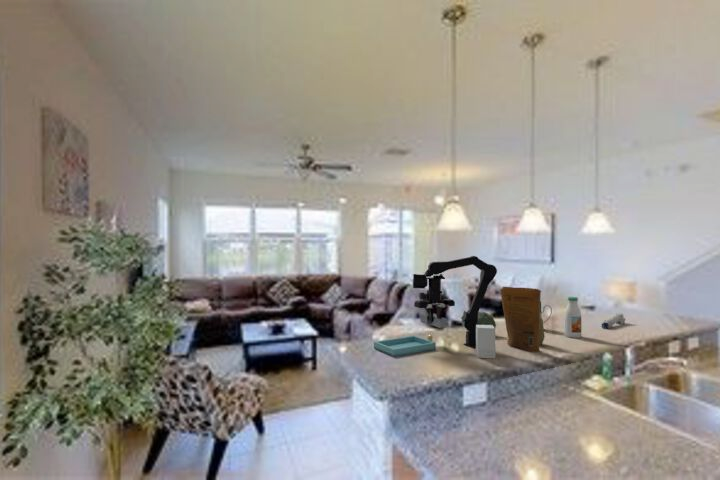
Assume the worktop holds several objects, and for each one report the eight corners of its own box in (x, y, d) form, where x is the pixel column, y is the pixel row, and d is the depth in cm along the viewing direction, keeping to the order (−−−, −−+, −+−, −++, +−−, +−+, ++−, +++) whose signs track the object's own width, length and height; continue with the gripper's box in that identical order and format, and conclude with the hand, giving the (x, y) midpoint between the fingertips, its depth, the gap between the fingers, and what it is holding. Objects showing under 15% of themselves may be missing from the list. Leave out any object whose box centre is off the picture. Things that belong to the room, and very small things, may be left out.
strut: (448, 327, 191) (448, 318, 191) (437, 328, 189) (437, 319, 189) (431, 321, 206) (431, 312, 206) (421, 321, 204) (421, 313, 204)
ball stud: (433, 342, 201) (433, 335, 201) (429, 343, 200) (429, 336, 200) (430, 341, 204) (430, 334, 204) (426, 342, 202) (426, 335, 202)
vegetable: (502, 328, 223) (497, 320, 211) (484, 345, 223) (479, 338, 211) (485, 312, 230) (480, 304, 218) (468, 328, 230) (462, 321, 218)
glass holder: (529, 326, 238) (529, 299, 238) (555, 330, 228) (555, 302, 228) (522, 328, 232) (522, 301, 232) (548, 332, 222) (548, 304, 222)
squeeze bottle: (544, 342, 200) (544, 305, 200) (544, 346, 193) (544, 307, 193) (526, 341, 204) (526, 304, 204) (525, 345, 196) (525, 306, 196)
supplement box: (495, 358, 175) (495, 328, 175) (477, 357, 176) (477, 327, 176) (493, 353, 182) (493, 324, 182) (475, 353, 184) (475, 324, 184)
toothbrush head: (599, 321, 232) (616, 310, 248) (600, 333, 232) (617, 321, 248) (610, 322, 228) (626, 311, 244) (610, 334, 228) (627, 322, 244)
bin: (435, 349, 190) (435, 342, 190) (393, 356, 179) (393, 349, 179) (414, 341, 204) (414, 335, 204) (373, 348, 192) (373, 341, 192)
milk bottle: (565, 337, 211) (564, 297, 211) (563, 334, 218) (563, 295, 218) (582, 338, 208) (582, 298, 208) (580, 335, 215) (580, 296, 215)
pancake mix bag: (536, 354, 181) (536, 289, 181) (499, 345, 197) (499, 285, 196) (545, 351, 185) (545, 288, 185) (508, 343, 200) (507, 284, 200)
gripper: (443, 285, 208) (443, 317, 208) (409, 287, 202) (409, 319, 202) (455, 288, 197) (455, 321, 197) (420, 290, 191) (420, 324, 191)
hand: (434, 321), depth 197 cm, fingers closed on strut, 3 cm apart
